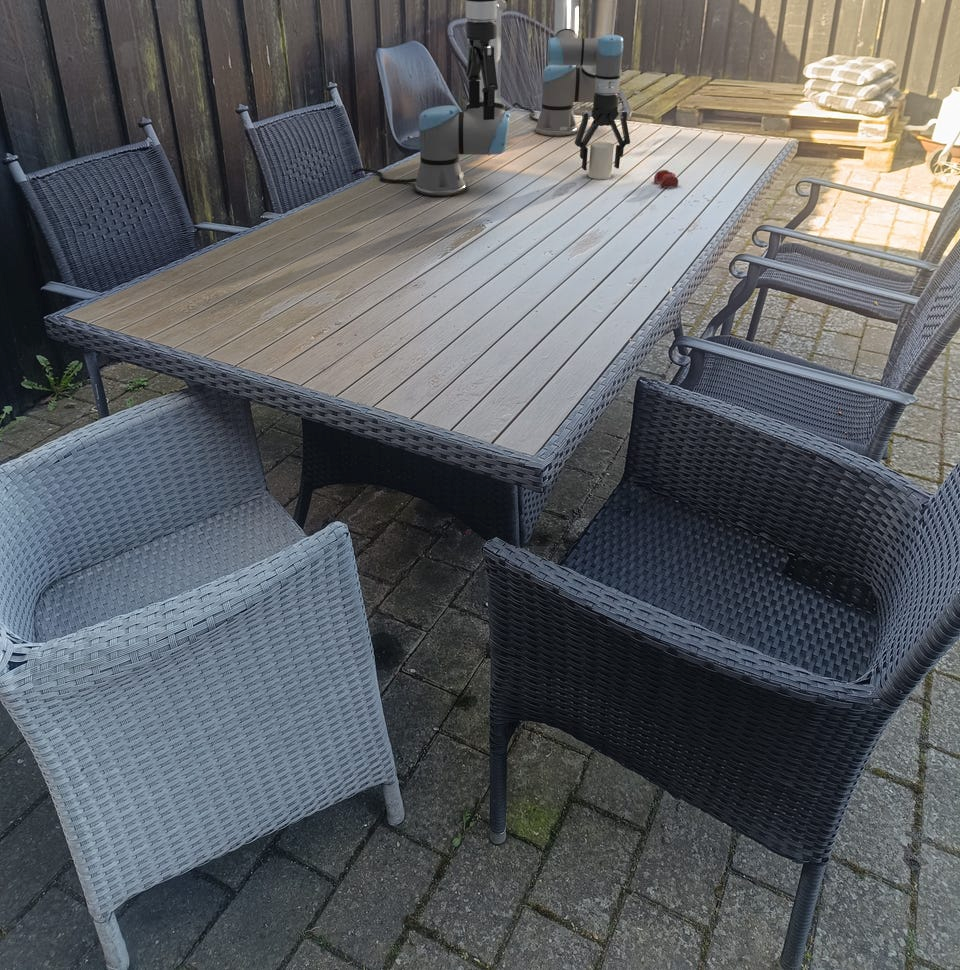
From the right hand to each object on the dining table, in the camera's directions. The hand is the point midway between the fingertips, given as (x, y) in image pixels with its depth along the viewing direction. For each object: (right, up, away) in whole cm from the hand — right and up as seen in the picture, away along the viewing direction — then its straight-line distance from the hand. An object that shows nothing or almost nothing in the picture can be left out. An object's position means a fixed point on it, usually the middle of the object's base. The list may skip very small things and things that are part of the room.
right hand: (600, 168), depth 269 cm
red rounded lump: (+19, -8, -6) cm, 22 cm away
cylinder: (0, -2, +1) cm, 2 cm away
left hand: (-38, -6, -52) cm, 65 cm away
